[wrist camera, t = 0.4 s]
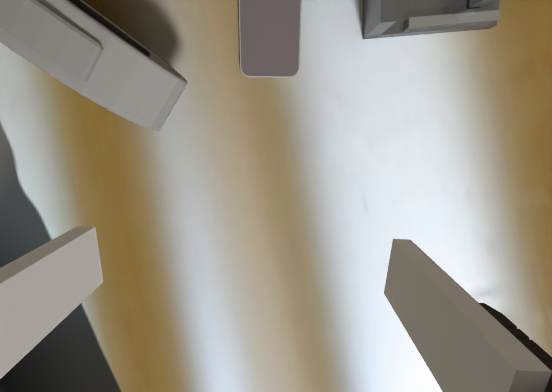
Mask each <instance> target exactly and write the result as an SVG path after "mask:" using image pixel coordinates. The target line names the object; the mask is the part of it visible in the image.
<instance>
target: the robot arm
mask: <svg viewBox="0 0 552 392" xmlns="http://www.w3.org/2000/svg"><path fill="white" fill-rule="evenodd" d="M102 283H103V277H102V270H101V263H100V257H99V250H98V243H97V236H96V229H95V227H85V226H77V227H75V228H73V229H72V230H70V231H68V232H66V233H64V234H62V235H61V236H59V237H57V238H55V239H53V240H51V241H50V242H48V243H46V244H44V245H42V246H40V247H39V248H37V249H35V250H33V251H31V252H30V253H28V254H26V255H24V256H22V257H20V258H19V259H17V260H15V261H13V262H11V263H9V264H8V265H6V266H4V267H2V268H0V379H1V378H2V377H3V376H4V375H5V374H6V373H7V372H8V371H9V370H10V369H11V368H12V367H13V366H14V365H16V364H17V362H19V361H20V360H21V359H22V358H23V357H24V356H25V355H26V354H27V353H28V352H29V351H30V350H31V349H33V348H34V347H35V346H36V345H37V344H38V343H39V342H40V341H41V340H42V339H43V338H44V337H45V336H46V335H47V334H48V333H49V332H50V331H51V330H53V329H54V328H55V327H56V326H57V325H58V324H59V323H60V322H61V321H62V320H63V319H64V318H65V317H66V316H68V315H69V314H70V313H71V312H72V311H73V310H74V309H75V308H76V307H77V306H78V305H79V304H80V303H81V302H82V301H83V300H85V299H86V298H87V297H88V296H89V295H90V294H91V293H92V292H93V291H94V290H95V289H96V288H97V287H98V286H99V285H100V284H102ZM384 294H385V296H386V297H387V299H388V301H389V302H390V304H391V306H392V307H393V309H394V311H395V312H396V314H397V316H398V317H399V319H400V321H401V322H402V324H403V326H404V327H405V329H406V331H407V332H408V334H409V336H410V337H411V339H412V341H413V343H414V344H415V346H416V348H417V349H418V351H419V353H420V354H421V356H422V358H423V359H424V361H425V363H426V364H427V366H428V368H429V369H430V371H431V373H432V374H433V376H434V378H435V379H436V381H437V383H438V384H439V386H440V388H441V389H442V391H443V392H552V357H551V356H550V355H549V354H547V353H546V352H545V351H544V350H543V349H542V348H541V347H539V346H538V345H537V344H536V343H535V342H534V341H533V340H529V337H528V336H527V335H526V334H525V333H523V332H522V331H521V330H520V329H517V326H516V325H514V324H513V323H512V322H511V321H510V320H509V319H508V318H506V317H505V316H504V315H503V314H502V313H500V312H498V311H497V310H495V309H493V308H492V307H490V306H488V305H486V304H485V303H478V302H477V301H476V300H475V299H474V298H472V297H471V296H470V295H469V294H468V293H467V292H466V291H465V290H464V289H463V288H462V287H461V286H460V285H459V284H457V283H456V282H455V281H454V280H453V279H452V278H451V277H450V276H449V275H448V274H447V273H446V272H445V271H443V270H442V269H441V268H440V267H439V266H438V265H437V264H436V263H435V262H434V261H433V260H432V259H431V258H429V257H428V256H427V255H426V254H425V253H424V252H423V251H422V250H421V249H420V248H419V247H418V246H417V245H416V244H414V243H413V242H412V241H411V240H404V239H393V243H392V249H391V254H390V260H389V266H388V272H387V278H386V284H385V290H384Z"/></svg>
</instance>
